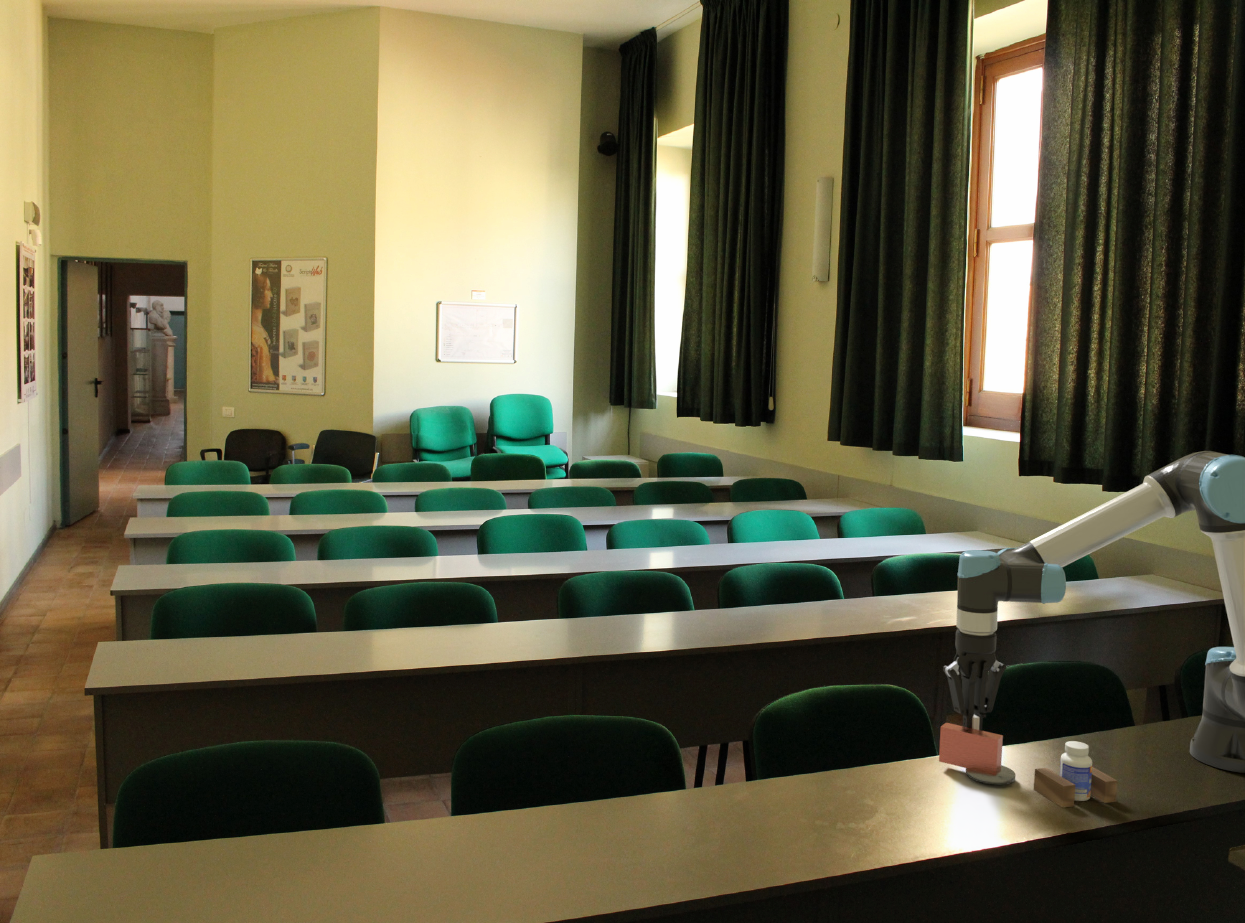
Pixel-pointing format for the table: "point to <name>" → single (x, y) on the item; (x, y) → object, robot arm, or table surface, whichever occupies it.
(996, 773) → the block on round base
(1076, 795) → the pill bottle
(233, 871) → the table surface
